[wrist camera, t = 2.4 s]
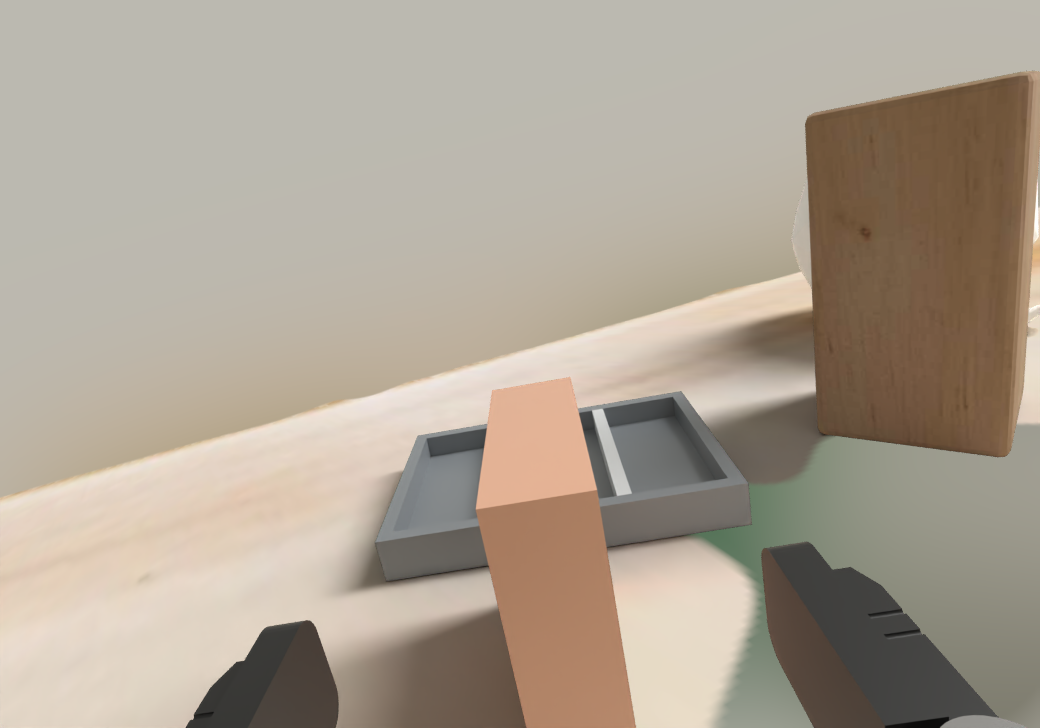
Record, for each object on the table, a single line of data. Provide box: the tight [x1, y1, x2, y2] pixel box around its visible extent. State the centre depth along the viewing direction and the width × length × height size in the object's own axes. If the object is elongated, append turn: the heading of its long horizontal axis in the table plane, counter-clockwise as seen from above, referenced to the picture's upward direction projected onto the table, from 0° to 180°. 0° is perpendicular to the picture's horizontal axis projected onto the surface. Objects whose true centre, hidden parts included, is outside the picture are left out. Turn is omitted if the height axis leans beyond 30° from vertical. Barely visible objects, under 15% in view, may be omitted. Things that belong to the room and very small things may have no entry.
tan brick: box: [476, 377, 636, 728], centre depth 24 cm, size 10×4×11 cm, turn 0°
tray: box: [375, 391, 752, 581], centre depth 39 cm, size 14×20×2 cm
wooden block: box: [805, 71, 1040, 457], centre depth 37 cm, size 10×10×20 cm
